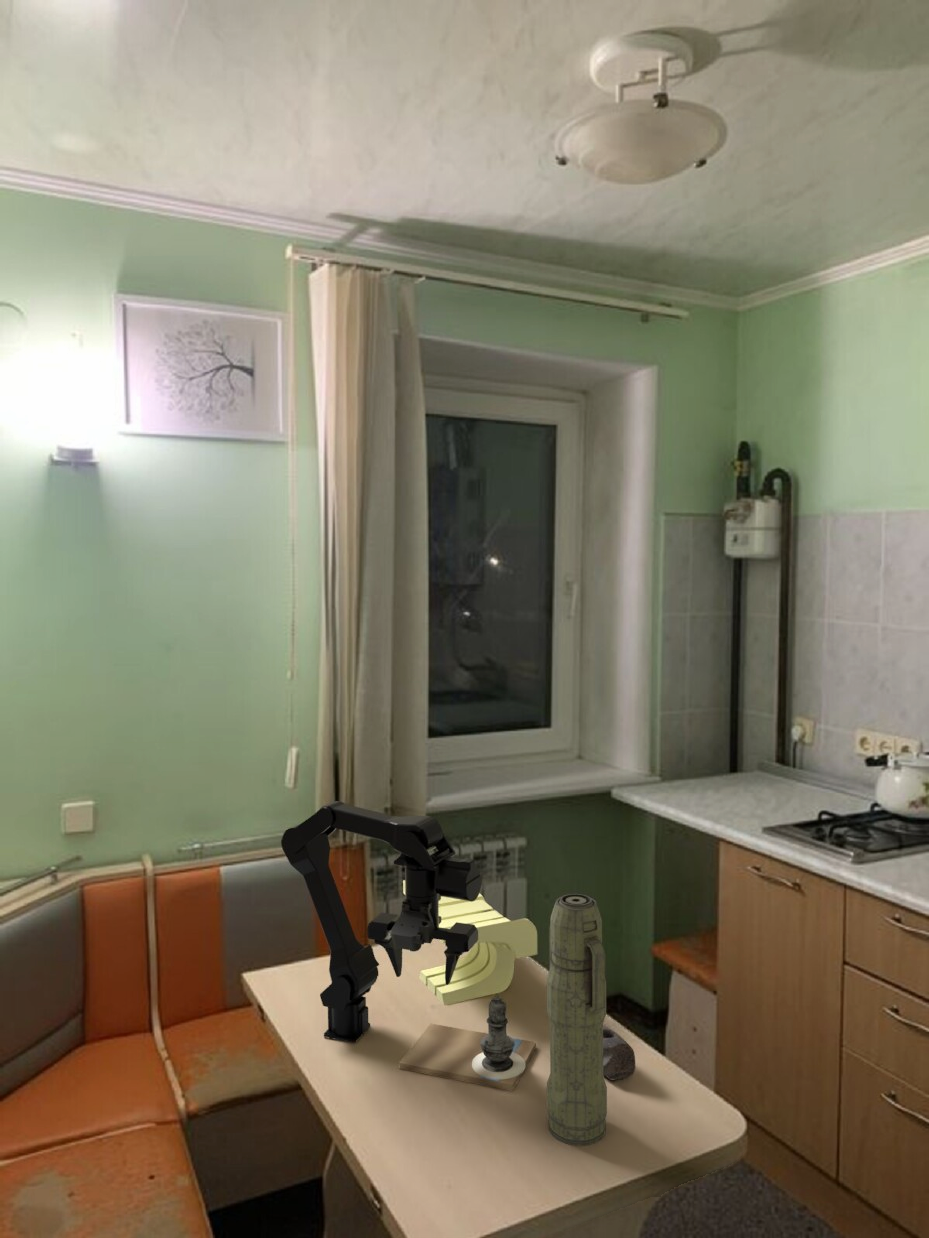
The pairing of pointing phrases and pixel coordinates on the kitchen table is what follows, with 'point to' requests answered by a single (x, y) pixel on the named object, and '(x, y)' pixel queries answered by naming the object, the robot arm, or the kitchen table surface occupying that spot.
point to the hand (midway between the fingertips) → (423, 979)
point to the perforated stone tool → (617, 1056)
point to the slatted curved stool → (480, 951)
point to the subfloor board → (463, 1057)
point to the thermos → (576, 1022)
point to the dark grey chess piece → (497, 1039)
